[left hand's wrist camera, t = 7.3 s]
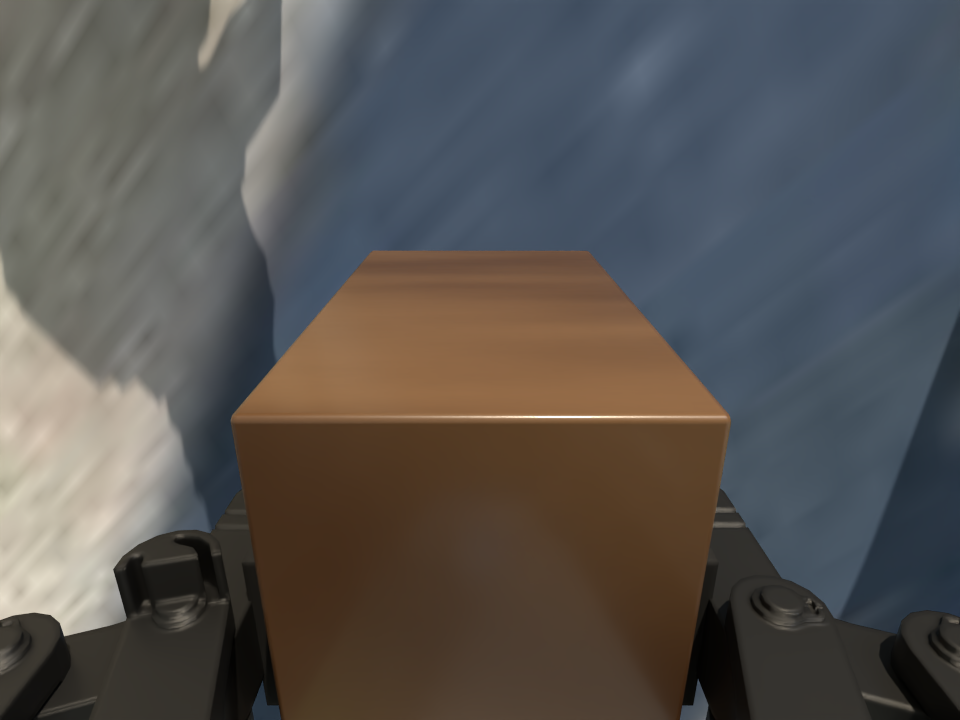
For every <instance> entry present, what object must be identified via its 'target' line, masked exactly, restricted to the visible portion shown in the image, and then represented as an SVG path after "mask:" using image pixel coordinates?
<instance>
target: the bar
mask: <svg viewBox="0 0 960 720" xmlns="http://www.w3.org/2000/svg"><path fill="white" fill-rule="evenodd" d="M730 425H731V419H730V416H729V414H728V413H727V412H726V411H725V409H724V408H723V407H722V406H721V405H720V404H719V402H718V401H717V400H716V399H715V398H714V397H713V395H712V394H711V393H710V392H709V391H708V390H707V388H706V387H705V386H704V385H703V384H702V383H701V381H700V380H699V379H698V378H697V377H696V376H695V375H694V373H693V372H692V371H691V370H690V369H689V368H688V366H687V365H686V364H685V363H684V362H683V361H682V359H681V358H680V357H679V356H678V355H677V354H676V352H675V351H674V350H673V349H672V348H671V347H670V345H669V344H668V343H667V342H666V341H665V340H664V338H663V337H662V336H661V335H660V334H659V333H658V331H657V330H656V329H655V328H654V327H653V326H652V324H651V323H650V322H649V321H648V320H647V319H646V318H645V316H644V315H643V314H642V313H641V312H640V311H639V309H638V308H637V307H636V306H635V305H634V304H633V302H632V301H631V300H630V299H629V298H628V297H627V295H626V294H625V293H624V292H623V291H622V290H621V288H620V287H619V286H618V285H617V284H616V283H615V281H614V280H613V279H612V278H611V277H610V276H609V274H608V273H607V272H606V271H605V270H604V269H603V268H602V266H601V265H600V264H599V263H598V262H597V261H596V259H595V258H594V257H593V256H592V255H591V254H590V252H588V251H372V252H371V253H370V254H369V255H368V256H367V257H366V259H365V260H364V261H363V262H362V263H361V264H360V266H359V267H358V268H357V269H356V270H355V271H354V273H353V274H352V275H351V276H350V277H349V278H348V280H347V281H346V282H345V283H344V284H343V286H342V287H341V288H340V289H339V290H338V291H337V293H336V294H335V295H334V296H333V297H332V298H331V300H330V301H329V302H328V303H327V304H326V306H325V307H324V308H323V309H322V310H321V311H320V313H319V314H318V315H317V316H316V317H315V318H314V320H313V321H312V322H311V323H310V324H309V326H308V327H307V328H306V329H305V330H304V331H303V333H302V334H301V335H300V336H299V337H298V338H297V340H296V341H295V342H294V343H293V344H292V345H291V347H290V348H289V349H288V350H287V351H286V353H285V354H284V355H283V356H282V357H281V358H280V360H279V361H278V362H277V363H276V364H275V365H274V367H273V368H272V369H271V370H270V371H269V373H268V374H267V375H266V376H265V377H264V378H263V380H262V381H261V382H260V383H259V384H258V385H257V387H256V388H255V389H254V390H253V391H252V393H251V394H250V395H249V396H248V397H247V398H246V400H245V401H244V402H243V403H242V404H241V405H240V407H239V408H238V409H237V410H236V411H235V413H234V414H233V415H232V418H231V426H232V432H233V438H234V444H235V449H236V455H237V461H238V467H239V473H240V479H241V485H242V491H243V497H244V503H245V508H246V514H247V520H248V526H249V532H250V538H251V544H252V550H253V556H254V561H255V567H256V573H257V579H258V585H259V591H260V597H261V603H262V609H263V614H264V620H265V626H266V632H267V638H268V644H269V650H270V656H271V662H272V667H273V673H274V679H275V685H276V691H277V697H278V703H279V709H280V715H281V720H680V715H681V709H682V703H683V697H684V692H685V686H686V680H687V674H688V668H689V663H690V657H691V651H692V645H693V639H694V634H695V628H696V622H697V616H698V610H699V605H700V599H701V593H702V587H703V582H704V576H705V570H706V564H707V558H708V553H709V547H710V541H711V535H712V529H713V524H714V518H715V512H716V506H717V500H718V495H719V489H720V483H721V477H722V471H723V466H724V460H725V454H726V448H727V443H728V437H729V431H730Z"/></svg>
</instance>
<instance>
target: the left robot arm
mask: <svg viewBox="0 0 960 720" xmlns="http://www.w3.org/2000/svg"><path fill="white" fill-rule="evenodd" d="M113 570H114V574H115V577H116V581H117V584H118V588H119V592H120V595H121V599H122V602H123V606H124V609H125V613H126V617H127V619H126V621H124V622H121V623H117V624H114V625H111V626H107V627H103V628H98V629H94V630H90V631H86V632H81V633H77V634H73V635H69V636H64V635H63V632H62V629H61V626H60V623H59V622H58V621H57V620H55V619H54V618H53V617H52V616H51V615H46V614H40V613H29V614H22V615H15V616H11V617H8V618H5V619H2V620H0V720H254V717H253V711H252V706H253V703H254V701H255V698H256V696H257V693H258V691H259V688H260V686H261V683H262V680H263V684H264V690H265V695H266V701H267V705H279V703H278V697H277V691H276V685H275V679H274V673H273V667H272V662H271V656H270V650H269V644H268V638H267V632H266V626H265V620H264V614H263V609H262V603H261V597H260V591H259V585H258V579H257V573H256V567H255V561H254V556H253V550H252V544H251V538H250V532H249V526H248V520H247V514H246V508H245V503H244V497H243V491H242V490H241V491H239V492H238V493H237V494H236V495H235V497H234V498H233V500H232V501H231V503H230V504H229V506H228V507H227V509H226V510H225V515H222V516H221V518H220V519H219V521H218V522H217V524H216V525H215V530H212V532H211V533H206V532H202V531H199V530H180V531H174V532H170V533H166V534H162V535H158V536H156V537H154V538H152V539H149V540H147V541H145V542H143V543H141V544H139V545H137V546H136V547H135V548H133V549H132V550H131V551H129V552H128V553H127V554H125V555H124V556H123V557H122V558H121V560H120V561H119V562H118V564H117V565H116V566H115V568H114V569H113ZM698 679H699V682H700V684H701V687H702V689H703V692H704V694H705V697H706V699H707V702H708V705H709V706H708V711H707V717H706V720H960V617H957V616H954V615H952V614H949V613H943V612H936V611H929V610H926V611H919V612H913V613H910V614H909V615H908V616H907V617H905V618H904V619H903V620H902V621H901V624H900V627H899V630H898V633H897V634H894V633H889V632H885V631H881V630H877V629H872V628H868V627H864V626H859V625H855V624H851V623H848V622H844V621H841V620H838V619H835V618H833V616H832V614H831V613H830V611H829V610H828V608H827V607H826V605H825V603H824V602H822V601H821V600H820V599H819V598H818V597H816V596H815V595H814V594H813V593H812V592H810V591H809V590H807V589H805V588H803V587H801V586H800V585H798V584H796V583H794V582H792V581H789V580H785V579H782V578H781V577H780V575H779V574H778V572H777V571H776V569H775V568H774V566H773V565H772V563H771V562H770V560H769V559H768V557H767V556H766V554H765V553H764V551H763V549H762V548H761V546H760V545H759V543H758V542H757V540H756V539H755V537H754V536H753V534H752V533H751V531H750V530H749V528H746V526H745V522H744V521H743V519H742V518H741V516H740V515H739V513H736V509H735V507H734V506H733V504H732V503H731V501H730V500H729V498H728V497H727V495H726V494H725V492H724V491H723V490H721V489H719V495H718V500H717V506H716V512H715V518H714V524H713V529H712V535H711V541H710V547H709V553H708V558H707V564H706V570H705V576H704V582H703V587H702V593H701V599H700V605H699V610H698V616H697V622H696V628H695V634H694V639H693V645H692V651H691V657H690V663H689V668H688V674H687V680H686V686H685V692H684V697H683V703H682V705H693V703H694V697H695V692H696V686H697V681H698Z"/></svg>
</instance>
